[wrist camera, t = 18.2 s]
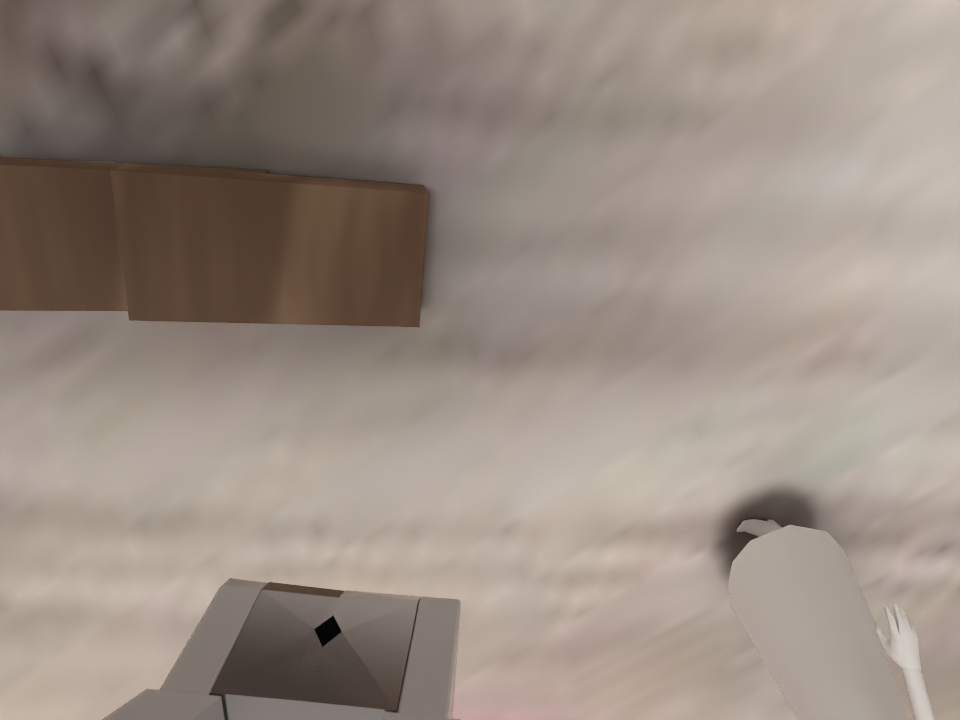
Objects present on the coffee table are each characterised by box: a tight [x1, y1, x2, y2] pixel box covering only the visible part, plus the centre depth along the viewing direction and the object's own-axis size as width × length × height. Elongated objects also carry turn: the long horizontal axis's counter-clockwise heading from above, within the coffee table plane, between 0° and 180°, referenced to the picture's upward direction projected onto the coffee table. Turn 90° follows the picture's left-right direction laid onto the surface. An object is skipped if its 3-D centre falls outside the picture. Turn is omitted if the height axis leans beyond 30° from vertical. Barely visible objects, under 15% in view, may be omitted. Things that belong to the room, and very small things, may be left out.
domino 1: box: [0, 157, 268, 311], centre depth 23 cm, size 2×5×10 cm
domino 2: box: [110, 163, 429, 327], centre depth 22 cm, size 2×5×10 cm
